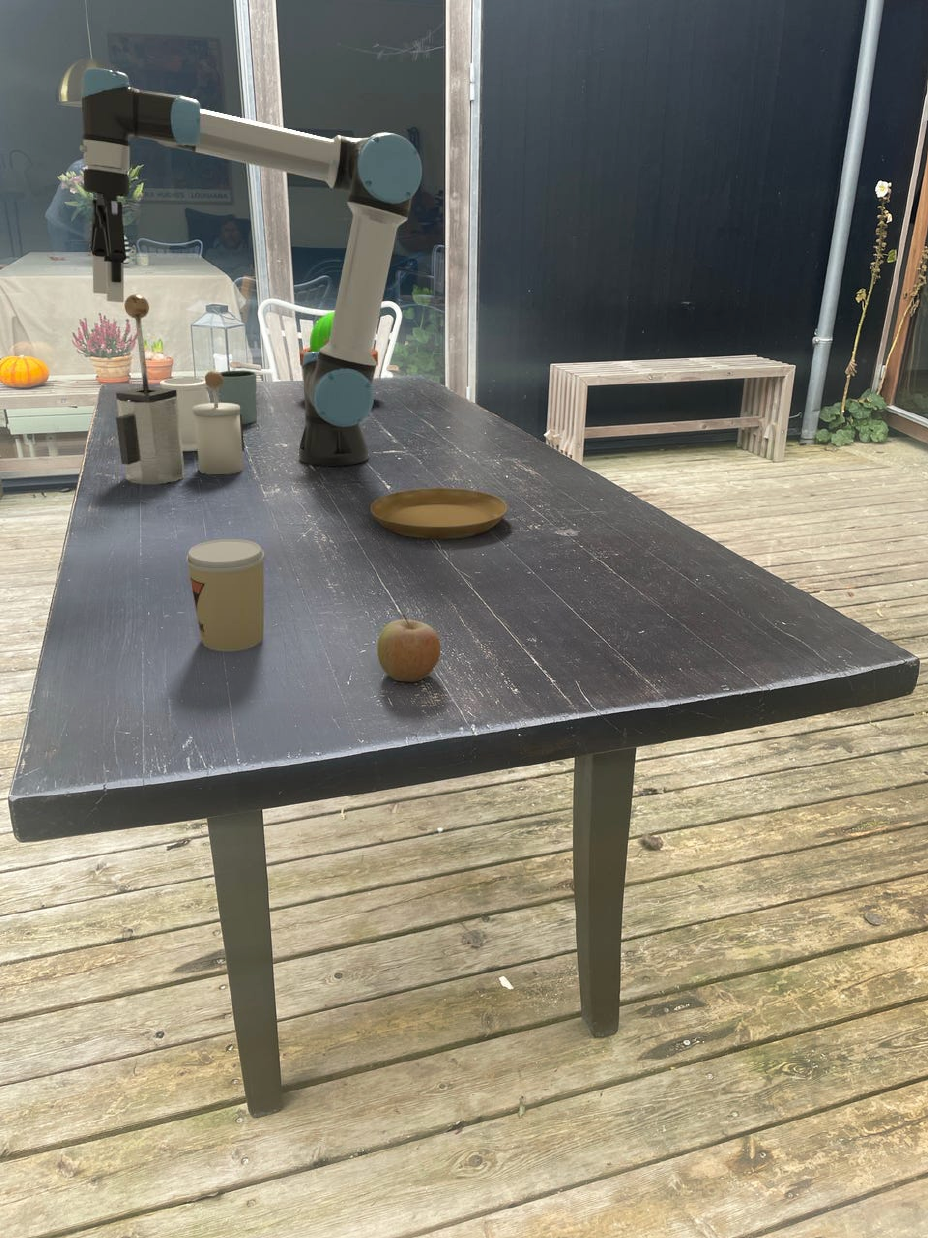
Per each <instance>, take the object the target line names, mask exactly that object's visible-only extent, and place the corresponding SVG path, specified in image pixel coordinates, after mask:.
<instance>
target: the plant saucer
mask: <svg viewBox="0 0 928 1238" xmlns="http://www.w3.org/2000/svg"><path fill="white" fill-rule="evenodd" d="M369 508H370V511H371V515H372V516H373V517H374V519H375V520H376V521H377V522H378V523H379V524H380V525H381V526H382V527H383V528H385V529H387V530H388V531H390V532H393V533H395V534H398V535H401V536H404V537H405V536H406V537H410V538H415V539H416V538H417V539H424V540H425V539H426V540H427V539H428V540H453V539H461V538H469V537H473V536H477V535H480V534H482V533H485V532H488V530H490V529H492V528H494V527H495V526H496V525H497V524H498V523H500V522H501V521H502V519H503V518H504V516H506V515H505V514H507V511H508V505H507V503H506V501H504V500H503V499H502V498H500V497H498V496H496V495H492V494H490V493H486V492H482V491H479V490H478V491H477V490H472V489H464V488H455V487H454V488H452V487H430V488H417V489H416V488H415V489H408V490H401V491H398V492H394V493H390V494H386V495H383V496H381V497H379V498H377V499H375V500H374V501H373V502H372V503H371V505H370V507H369Z"/></svg>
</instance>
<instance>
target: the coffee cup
mask: <svg viewBox="0 0 928 1238" xmlns="http://www.w3.org/2000/svg"><path fill="white" fill-rule="evenodd" d="M185 561H186V565H187V566H188V570H189V571H188V572H189V578H190V582H191V588H192V589H191V590H192V596H193V600H194V606H195V607H194V608H195V613H196V618H197V623H198V629H199V635H200V640H201V642H202V645H203V646H204V647H205V648H207V649H209V650H211V651H216V652H225V653H226V652H238V651H243V650H247V649H250V648H253V647H255V646H258V645H259V644H260V643H261V642H262V640H263V638H264V622H265V621H264V615H265V614H264V607H265V606H264V605H265V604H264V601H265V600H264V598H265V597H264V593H265V592H264V587H265V586H264V582H265V580H264V578H265V575H264V574H265V573H264V561H265V551H264V550H263V549H262V547H261V546H260V545H259V544H258V543H256V542H254V541H252V540H246V539H241V538H240V539H239V538H238V539H237V538H236V539H235V538H226V539H225V538H224V539H215V540H209V541H205V542H201V543H198V544H196V545H194V546H192V547H191V548H190V549H189V550H188V554H187V556H186V559H185Z"/></svg>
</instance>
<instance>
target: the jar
mask: <svg viewBox="0 0 928 1238" xmlns="http://www.w3.org/2000/svg"><path fill="white" fill-rule="evenodd" d="M207 387H208V386H207V385H206V383H205V378H200V377H199V378H198V377H176V378H169V379H164V380H162V381H160V388H163V389H173V390H176V393H177V401H178V411H179V421H180V431H181V441H182V451H183V452H198V449H197V439H196V428H195V418H194V414H193V407H194V406H196V405H200V404H207V403H211V400H210V395H209V392H208V389H207Z"/></svg>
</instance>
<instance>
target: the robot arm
mask: <svg viewBox="0 0 928 1238" xmlns="http://www.w3.org/2000/svg"><path fill="white" fill-rule="evenodd" d="M81 87H82V88H81V90H82V91H81V107H82V108H81V110H82V111H81V112H82V113H81V115H82V116H81V117H82V119H81V120H82V138H83V139H82V141H83V145H81V144H80V146H79V151H80V152H83V164H84V165H85V166H87V168H85V169H84V170H83V188H84V189H83V190H84V191H85V192H86V193H94V194H96V198H94V197H93V198H92V200H91V201H92V202H91V203H92V215H91V216H92V217H91V231H90V233H91V234H90V244H89V245H90V246H89V249H90V251H91V253H92V293H94V294H101V295H102V294H103V295H104V294H105V295H106V301H107V302H115V303H125V299H124V298H125V296H124V294H125V292H124V282H125V281H124V278H125V277H124V263H125V261H126V260H127V257H128V256H127V251H126V241H125V232H124V223H123V222H124V220H123V204H122V202H121V201H118V199H117V198H118V197H121V198H128V197H130V177H129V175H128V174H127V172H129V171H130V137H134V138H141V139H145V140H146V139H147V140H151V141H154V142H156V143H157V144H158V145H159V146H162V147H165V148H168V149H179V150H183V151H189V152H194V153H200V154H203V155H208V156H213V157H216V158H220V159H225V160H229V161H234V162H239V163H242V164H249V165H253V166H257V167H261V168H265V169H270V170H274V171H275V170H276V171H279V172H284V173H287V174H293V175H297V176H301V177H306V178H309V179H315V180H320V181H324V182H325V183H326V184H327V185H328V186H329V188H330V189H332V190H333V189H334V190H339V191H343V192H346V193H348V196H347V197H348V199H347V206H348V208H349V209H350V211H351V213H352V220H351V224H350V225H351V226H350V231H349V235H348V241H347V247H346V251H345V255H344V262H343V267H342V272H341V277H340V282H339V288H338V293H337V297H336V298H337V299H336V304H335V308H334V311H333V312H334V317H333V323H332V328H331V333H330V338H329V342H328V343H327V344H326V345H325V346H323V347H322V348H320V349H319V352H307V353H305V354H304V356H303V364H302V366H301V369H302V371H303V391H304V392H303V394H304V415H305V416H304V417H305V425H304V429H303V432H302V437H301V440H300V443H299V448H298V456H299V458H298V459H299V461H301V463H306V464H308V465H314V466H321V467H323V466H324V467H340V466H342V467H343V466H344V467H345V466H351V465H356V464H361V463H364V462H366V461H368V459H369V448H368V447H369V446H368V444H367V441H366V438H365V436H364V435H365V434H364V432H363V430H362V426H361V422H363V421H364V420H365V419H366V418H367V417H368V416H369V414H370V413H371V411H372V409H373V406H374V402H375V401H374V399H375V393H374V388H373V384H374V378H375V374H376V370H377V366H378V365H377V362H376V361H375V359H374V357H373V356H372V353H371V351H372V349H373V345H374V342H375V335H376V331H377V328H378V327H377V326H378V323H379V317H380V312H381V308H382V302H383V299H384V292H385V289H386V284H387V279H388V274H389V270H390V265H391V259H392V255H393V250H394V245H395V241H396V235H397V230H398V228H399V226H401V225H402V224H404V223H405V222H407V221H408V218H409V214H410V210H411V204H412V199H413V196H414V195H415V194H416V192H417V191H418V189H419V187H420V184H421V181H422V176H423V165H422V161H421V157H420V154H419V153H418V150H417V148H415V146H414V144H413V143H411V142H410V140H408V139H407V138H405V137H404V136H402V135H399V134H396V133H393V132H391V133H390V132H386V131H385V132H378V133H375V134H372V135H371V136H370V137H363V138H362V137H358V138H355V137H348V136H345V135H344V136H343V135H339V134H337V135H336V136H334V137H333V138H327V137H323V136H318V135H315V134H314V135H313V134H311V133H305V132H300V131H298V130H297V131H296V130H293V129H288V128H285V127H280V126H276V125H271V124H267V123H263V122H260V121H259V122H258V121H254V120H250V119H246V118H242V117H241V118H240V117H239V116H238V117H237V116H232V115H229V114H224V113H220V112H215V111H211V110H207V109H203V108H201V103H200V102H199V101H198V100H197V99H194V98H191V97H186V96H184V95H181V94H178V95H176V94H169V93H163V92H155V91H149V90H143V89H137V88H135V87H131V84H130V79H129V76H128V75H127V74H126V73H124V72H120V71H115V70H111V69H106V68H100V67H89V68H86V69H85V70H84V71H83V72H82V86H81ZM376 365H377V366H376Z"/></svg>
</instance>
